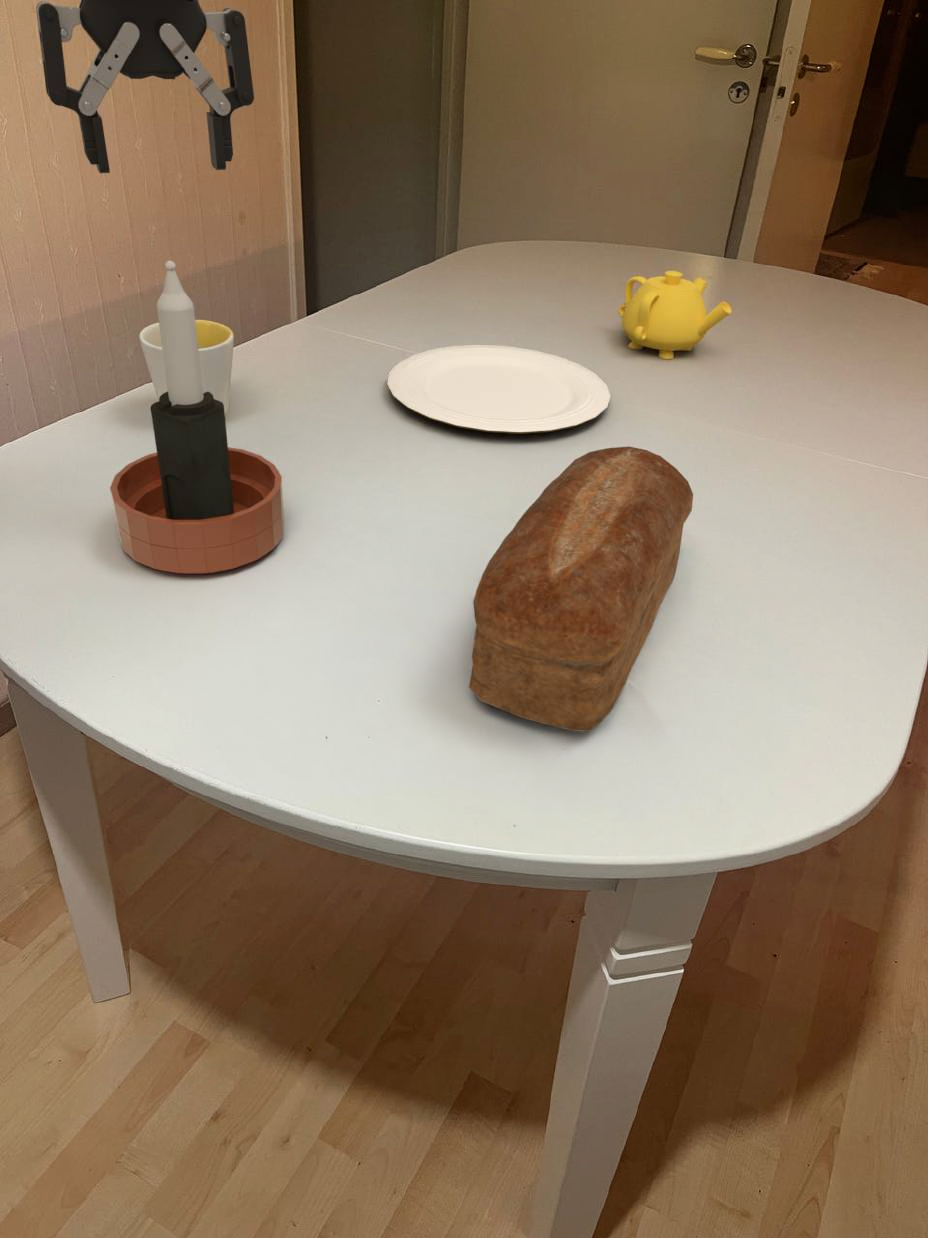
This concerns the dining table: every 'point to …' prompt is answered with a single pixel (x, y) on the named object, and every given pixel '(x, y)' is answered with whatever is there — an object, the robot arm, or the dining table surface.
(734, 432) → the dining table surface
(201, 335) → the mug
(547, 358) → the plate
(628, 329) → the teapot
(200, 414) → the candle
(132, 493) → the bowl
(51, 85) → the robot arm
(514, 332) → the dining table surface
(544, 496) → the bread
